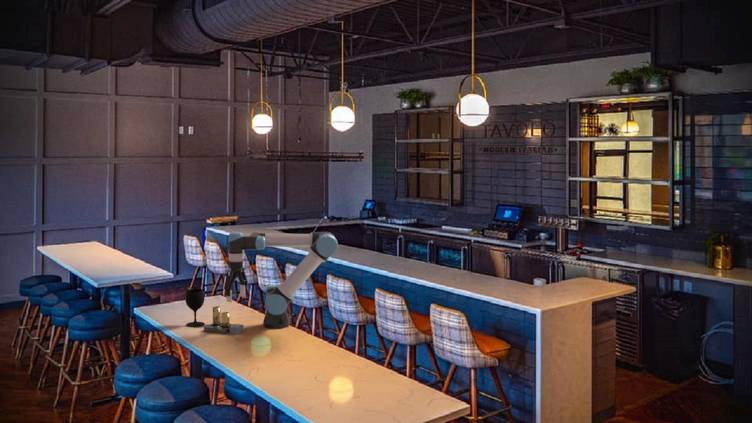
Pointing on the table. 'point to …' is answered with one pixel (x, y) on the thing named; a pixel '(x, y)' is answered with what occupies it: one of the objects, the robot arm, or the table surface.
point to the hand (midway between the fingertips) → (236, 299)
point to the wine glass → (194, 304)
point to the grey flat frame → (217, 328)
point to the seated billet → (225, 320)
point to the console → (236, 329)
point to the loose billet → (217, 314)
